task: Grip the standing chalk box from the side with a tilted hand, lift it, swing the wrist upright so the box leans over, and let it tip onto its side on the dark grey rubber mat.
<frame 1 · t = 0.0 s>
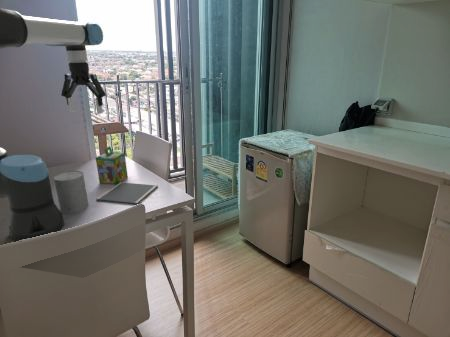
hand: (86, 113, 142), 28 cm above the table, tool pointing down, fingers open, 13 cm apart
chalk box: (114, 180, 142), on the table
mat: (128, 193, 128), on the table
grey cylinder: (74, 207, 117), on the table
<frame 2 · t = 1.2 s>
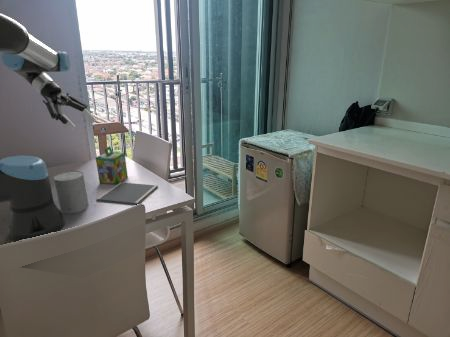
hand: (84, 124, 137), 24 cm above the table, tool tilted 45°, fingers open, 13 cm apart
nothing on the table moved.
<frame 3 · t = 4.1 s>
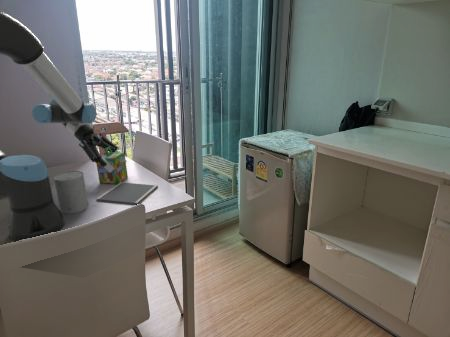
hand: (118, 166, 139), 6 cm above the table, tool tilted 45°, fingers closed on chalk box, 9 cm apart
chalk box: (114, 180, 142), on the table, touching gripper
everything else where it was.
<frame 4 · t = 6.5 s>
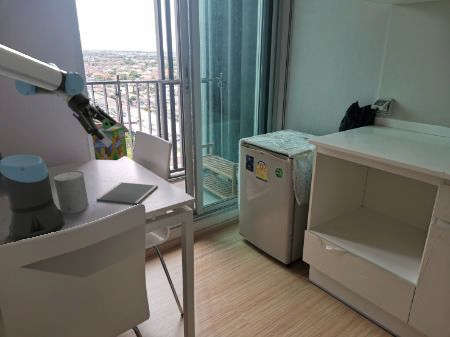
hand: (117, 141, 124), 20 cm above the table, tool tilted 45°, fingers closed on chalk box, 9 cm apart
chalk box: (111, 157, 127), point 14 cm above the table, touching gripper
everything else where it was.
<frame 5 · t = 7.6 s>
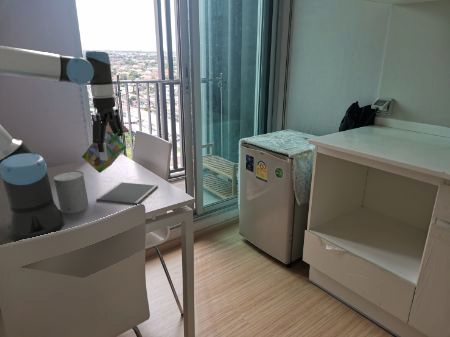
hand: (111, 156, 124), 15 cm above the table, tool pointing down, fingers closed on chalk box, 9 cm apart
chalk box: (96, 161, 126), point 13 cm above the table, touching gripper
everything else where it was.
when the fingers open (8 cm above the table, at t = 9.1 s): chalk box moves 4 cm, resting on mat.
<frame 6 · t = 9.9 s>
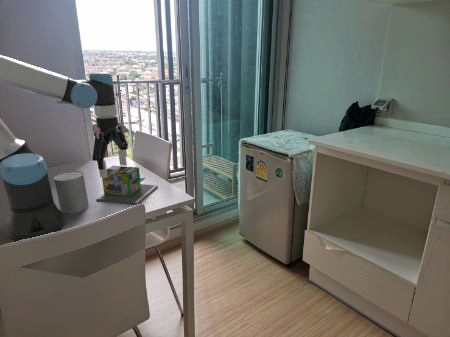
hand: (114, 171, 126), 9 cm above the table, tool pointing down, fingers open, 13 cm apart
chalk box: (108, 179, 128), point 5 cm above the table, touching mat
everything else where it was.
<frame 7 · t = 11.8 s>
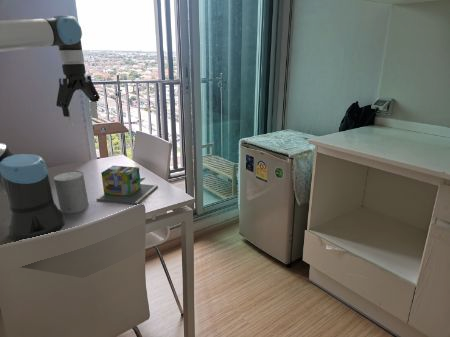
hand: (83, 121, 124), 28 cm above the table, tool pointing down, fingers open, 13 cm apart
nothing on the table moved.
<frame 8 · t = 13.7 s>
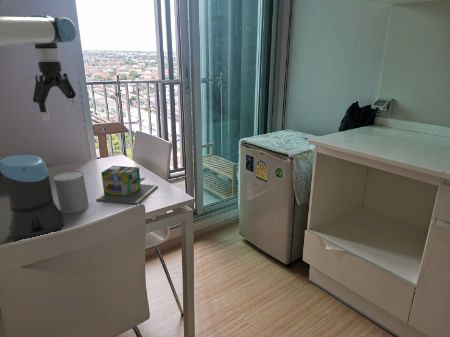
hand: (59, 117, 129), 29 cm above the table, tool pointing down, fingers open, 13 cm apart
nothing on the table moved.
at the end: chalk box tilted 92°; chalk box 8.4 cm from the mat (horizontally); the gripper is holding nothing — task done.
